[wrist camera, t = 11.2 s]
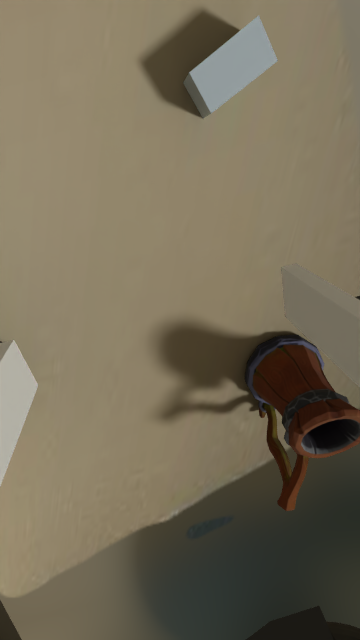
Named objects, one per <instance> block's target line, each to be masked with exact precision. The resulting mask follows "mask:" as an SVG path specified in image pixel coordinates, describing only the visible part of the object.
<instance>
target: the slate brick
mask: <svg viewBox="0 0 360 640" xmlns="http://www.w3.org/2000/svg"><path fill="white" fill-rule="evenodd" d="M277 61H278V60H277V58H276V55H275V53H274V51H273V48H272V46H271V44H270V41H269V39H268V36H267V34H266V32H265V29H264V27H263V24H262V22H261V20H260V17H259V16H257V17H256V18H255V19H254V20H253V21H251V22H250V23H249V24H248V25H246V26H245V27H244V28H243V29H242V30H240V31H239V32H238V33H237V34H236V35H234V36H233V37H232V38H231V39H229V40H228V41H227V42H226V43H225V44H223V45H222V46H221V47H220V48H219V49H217V50H216V51H215V52H214V53H212V54H211V55H210V56H209V57H208V58H206V59H205V60H204V61H203V62H202V63H200V64H199V65H198V66H197V67H195V68H194V69H193V70H192V71H191V72H189V74H188V75H187V77H186V79H185V80H184V82H183V83H184V85H185V87H186V89H187V91H188V93H189V94H190V96H191V98H192V100H193V102H194V103H195V105H196V107H197V109H198V111H199V112H200V114H201V116H202V118H205V117H206V116H208V115H209V114H211V113H212V112H214V111H215V110H216V109H217V108H219V107H220V106H221V105H223V104H224V103H225V102H226V101H228V100H229V99H230V98H231V97H233V96H234V95H235V94H236V93H238V92H239V91H240V90H242V89H243V88H244V87H245V86H247V85H248V84H249V83H250V82H252V81H253V80H254V79H255V78H257V77H258V76H259V75H261V74H262V73H263V72H264V71H266V70H267V69H268V68H269V67H271V66H272V65H273V64H274V63H276V62H277Z"/></svg>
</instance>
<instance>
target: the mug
mask: <svg viewBox="0 0 360 640" xmlns="http://www.w3.org/2000/svg"><path fill="white" fill-rule="evenodd" d="M323 367H324V362H323V360H322V358H321V356H320V354H319V351H318V349H317V347H316V346H315V345H313V344H311V343H310V342H308V341H307V340H305V339H303V338H302V337H300V336H299V335H288V336H277V337H275V338H273V339H271V340H269V341H267V342H265V343H263V344H260V345H258V347H257V348H256V350H255V352H254V353H253V355H252V356H251V358H250V359H249V360H248V362H247V368H246V373H245V382H246V384H247V386H248V387H249V389H250V391H251V393H252V394H253V396H254V398H256V399H257V400H259V415H260V417H261V418H264V417H265V414H266V413H267V416H268V427H267V443H268V447H269V450H270V452H271V453H272V455H273V456H274V458H275V460H276V462H277V464H278V466H279V469H280V472H281V475H282V479H283V489H282V493H281V496H280V498H279V500H278V505H279V506H281V507H282V508H283V509H284V510H286V511H289V510H293V509H295V502H296V497H297V494H298V491H299V488H300V487H301V484H302V482H303V480H304V477H305V474H306V469H307V464H308V458H309V457H310V458H312V457H313V458H325V457H328V456H331V455H334V454H338V453H341V452H344V451H346V450H348V449H349V448H351V447H353V446H355V445H357V444H359V443H360V410H358V409H356V408H355V407H353V406H352V405H350V404H349V401H348V399H347V397H345V396H342V395H340V394H338V393H336V392H335V391H334V389H333V388H332V387H331V385H330V384H329V382H328V381H327V379H326V377H325V375H324V373H323ZM275 409H277V410H278V412H279V413H280V414H281V415H282V424H283V426H284V428H285V429H286V432H285V435H284V439H285V441H286V443H287V444H288V445H290V446H291V447H292V449H293V450H294V451H295V452H296V453H297V460H296V464H295V467H294V470H293V472H292V470H291V466H290V462H289V459H288V456H287V453H286V451H285V449H284V447H283V446H282V444H281V442H280V441H279V439H278V436H277V418H276V413H275Z"/></svg>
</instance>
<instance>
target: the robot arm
mask: <svg viewBox="0 0 360 640" xmlns="http://www.w3.org/2000/svg"><path fill="white" fill-rule="evenodd" d="M281 272H282V284H283V297H284V309H285V317H286V318H287V319H288V320H289V321H290V322H291V323H292V324H293V325H294V326H295V327H297V328H298V329H299V330H300V331H301V332H302V333H303V334H304V335H305V336H306V337H307V338H308V339H309V340H310V341H311V342H312V343H313V344H314V345H316V346H317V347H318V348H319V349H320V350H321V351H322V352H323V353H324V354H325V355H326V356H327V357H328V358H329V359H330V360H331V361H332V362H333V363H335V364H336V365H337V366H338V367H339V368H340V369H341V370H342V371H343V372H344V373H345V374H346V375H347V376H348V377H349V378H350V379H351V380H352V381H354V382H355V383H356V384H357V385H358V386H359V387H360V296H357V297H354V296H352V295H350V294H348V293H347V292H345V291H343V290H342V289H340V288H338V287H336V286H335V285H333V284H331V283H329V282H328V281H326V280H324V279H323V278H321V277H319V276H317V275H316V274H314V273H312V272H310V271H309V270H307V269H305V268H304V267H302V266H300V265H298V264H297V263H295V264H291V265H288V266H284V267H281ZM37 387H38V384H37V382H36V380H35V378H34V376H33V375H32V373H31V371H30V369H29V367H28V365H27V363H26V361H25V360H24V358H23V356H22V354H21V352H20V350H19V348H18V346H17V345H16V343H15V341H14V340H10V341H7V342H3V343H2V342H1V341H0V486H1V483H2V480H3V478H4V475H5V472H6V470H7V467H8V464H9V462H10V459H11V456H12V454H13V451H14V448H15V446H16V443H17V440H18V438H19V435H20V432H21V430H22V427H23V424H24V422H25V419H26V416H27V414H28V411H29V408H30V406H31V403H32V400H33V398H34V395H35V392H36V390H37ZM0 640H22V639H21V638H20V636H19V634H18V632H17V630H16V628H15V626H14V625H13V623H12V621H11V619H10V617H9V615H8V614H7V612H6V610H5V608H4V606H3V604H2V602H1V601H0ZM246 640H360V628H357V627H354V626H351V625H347V624H342V623H337V622H326V620H325V618H324V616H323V613H322V611H321V609H320V607H319V606H317V607H314V608H310V609H307V610H304V611H301V612H298V613H295V614H292V615H289V616H286V617H282V618H279V619H276V620H273V621H270V622H269V623H267V624H266V625H265V626H263V627H262V628H261V629H260V630H258V631H257V632H256V633H254V634H253V635H252V636H250V637H249V638H248V639H246Z"/></svg>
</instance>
